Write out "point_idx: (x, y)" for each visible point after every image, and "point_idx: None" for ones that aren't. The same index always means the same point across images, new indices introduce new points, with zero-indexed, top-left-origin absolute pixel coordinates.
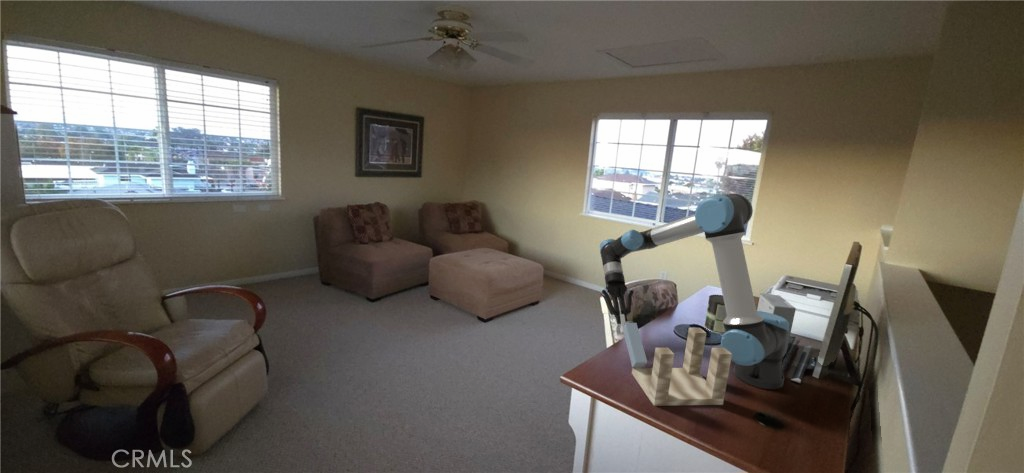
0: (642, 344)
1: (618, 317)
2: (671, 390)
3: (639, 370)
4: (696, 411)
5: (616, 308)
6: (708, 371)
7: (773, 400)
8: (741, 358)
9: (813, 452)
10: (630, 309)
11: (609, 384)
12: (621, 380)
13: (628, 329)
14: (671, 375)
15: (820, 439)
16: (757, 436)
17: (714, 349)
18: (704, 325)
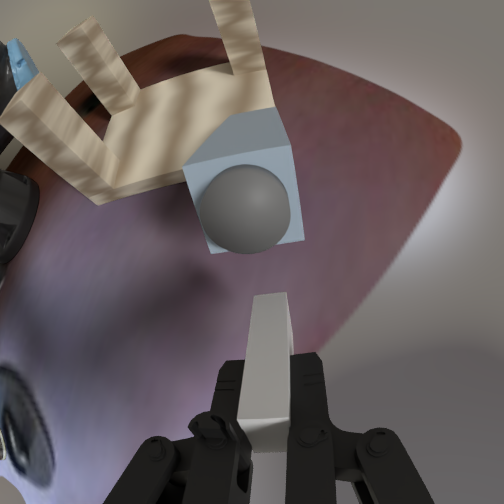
0: (218, 127)
1: (312, 397)
2: (207, 84)
3: None
4: None
5: (331, 489)
6: (110, 69)
7: None
8: None
9: None
10: (133, 466)
11: (363, 108)
12: (327, 125)
13: (276, 133)
14: (168, 139)
15: (74, 94)
16: (135, 66)
17: (83, 23)
18: (4, 455)
